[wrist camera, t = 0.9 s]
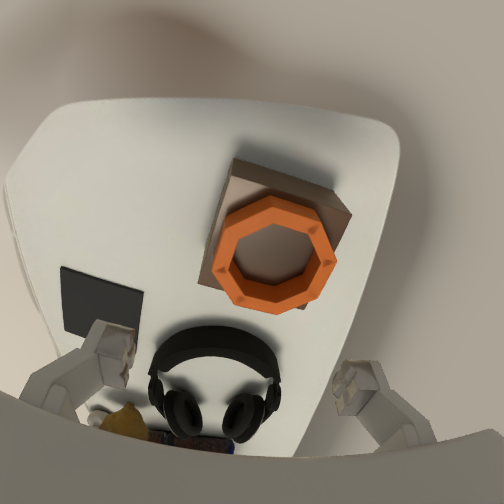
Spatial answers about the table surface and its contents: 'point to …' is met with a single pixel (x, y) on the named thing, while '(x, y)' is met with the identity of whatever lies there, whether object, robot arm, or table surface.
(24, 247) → the table surface
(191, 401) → the headphones
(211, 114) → the table surface
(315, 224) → the ring
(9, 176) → the table surface
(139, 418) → the decorative stone
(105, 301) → the mat
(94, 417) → the tiered spinning top
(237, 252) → the block
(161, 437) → the decorative box
